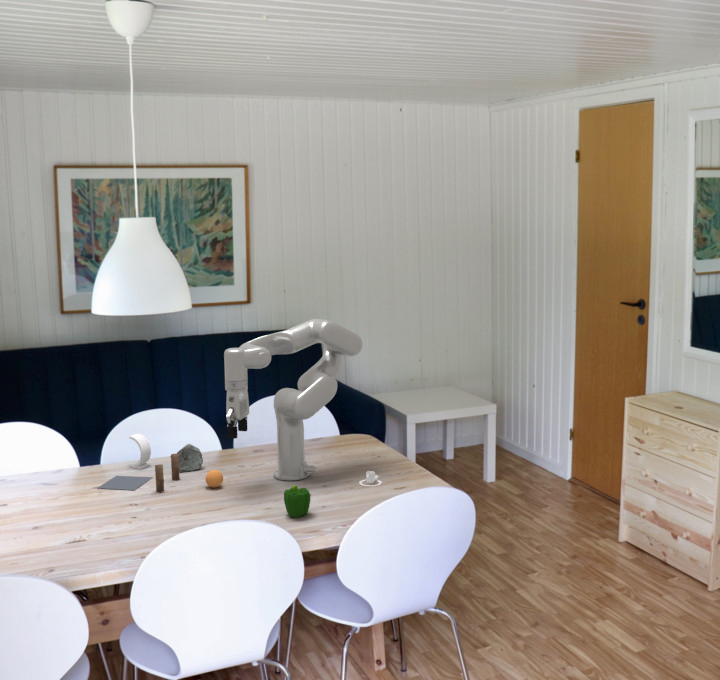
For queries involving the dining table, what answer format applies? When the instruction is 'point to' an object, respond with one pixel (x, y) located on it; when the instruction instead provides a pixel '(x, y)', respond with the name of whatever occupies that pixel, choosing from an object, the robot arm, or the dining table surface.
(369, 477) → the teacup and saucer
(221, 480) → the ball
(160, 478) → the post left
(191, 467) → the stone
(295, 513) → the bell pepper
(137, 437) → the headphone stand
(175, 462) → the post right
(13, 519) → the dining table surface
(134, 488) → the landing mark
